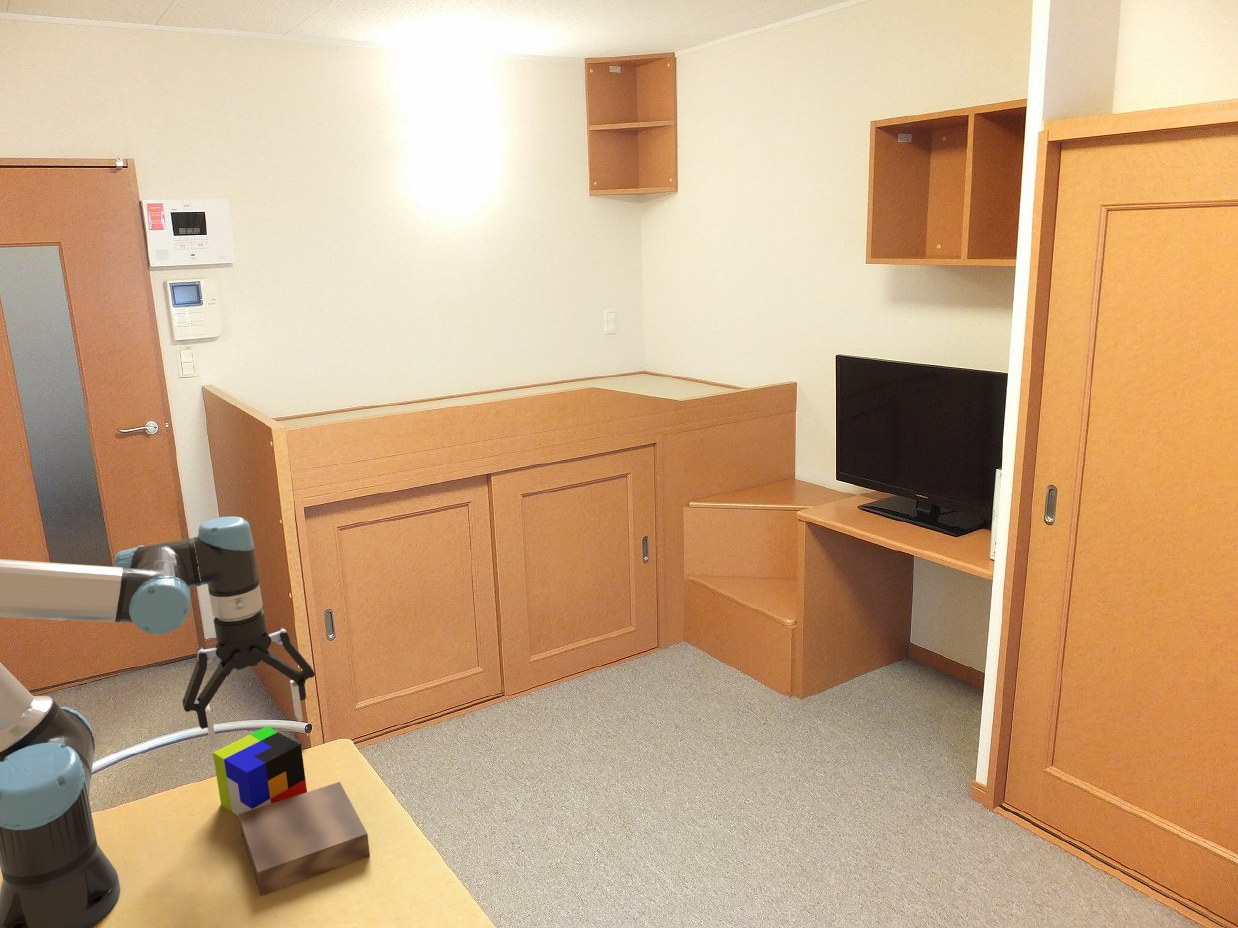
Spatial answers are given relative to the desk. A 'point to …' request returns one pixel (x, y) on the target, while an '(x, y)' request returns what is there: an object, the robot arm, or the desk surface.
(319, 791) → the walnut plinth
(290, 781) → the puzzle toy
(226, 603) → the robot arm
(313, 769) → the desk surface
